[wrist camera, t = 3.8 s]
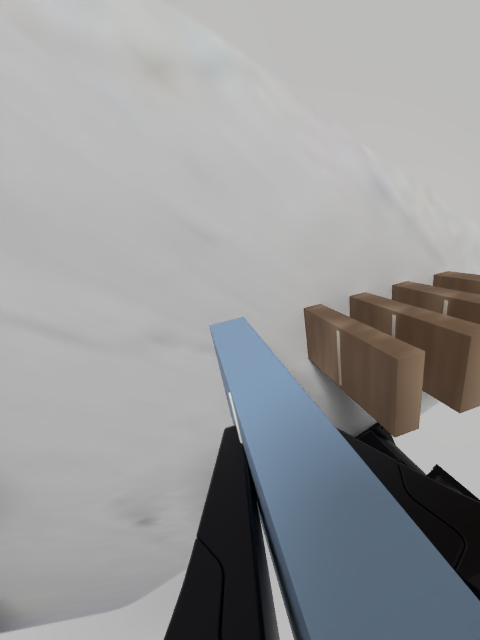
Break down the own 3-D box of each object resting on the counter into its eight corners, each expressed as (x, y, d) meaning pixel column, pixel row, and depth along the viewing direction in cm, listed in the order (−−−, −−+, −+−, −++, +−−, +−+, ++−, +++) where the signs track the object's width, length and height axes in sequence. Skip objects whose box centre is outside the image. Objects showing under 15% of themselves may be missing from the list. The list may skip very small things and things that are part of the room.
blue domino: (244, 316, 11) (533, 658, 2) (261, 406, 13) (465, 824, 4) (208, 325, 11) (343, 765, 2) (230, 415, 13) (361, 891, 3)
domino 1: (321, 304, 22) (426, 351, 13) (324, 354, 24) (419, 428, 14) (303, 308, 22) (397, 360, 12) (308, 358, 23) (393, 437, 14)
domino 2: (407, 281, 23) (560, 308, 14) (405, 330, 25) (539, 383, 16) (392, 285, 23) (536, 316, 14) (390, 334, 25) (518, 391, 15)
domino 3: (365, 292, 22) (496, 328, 13) (366, 341, 24) (482, 405, 15) (349, 296, 22) (470, 336, 13) (350, 346, 24) (458, 413, 15)
